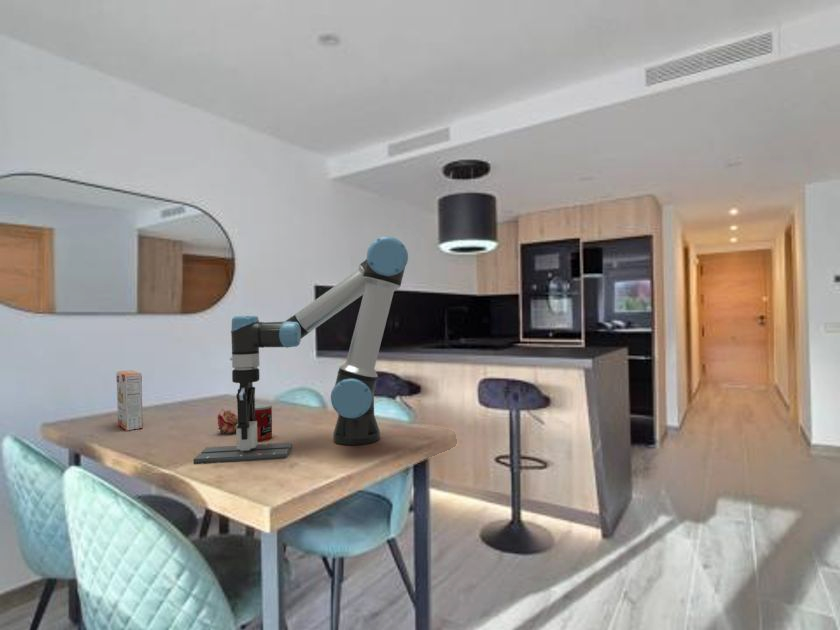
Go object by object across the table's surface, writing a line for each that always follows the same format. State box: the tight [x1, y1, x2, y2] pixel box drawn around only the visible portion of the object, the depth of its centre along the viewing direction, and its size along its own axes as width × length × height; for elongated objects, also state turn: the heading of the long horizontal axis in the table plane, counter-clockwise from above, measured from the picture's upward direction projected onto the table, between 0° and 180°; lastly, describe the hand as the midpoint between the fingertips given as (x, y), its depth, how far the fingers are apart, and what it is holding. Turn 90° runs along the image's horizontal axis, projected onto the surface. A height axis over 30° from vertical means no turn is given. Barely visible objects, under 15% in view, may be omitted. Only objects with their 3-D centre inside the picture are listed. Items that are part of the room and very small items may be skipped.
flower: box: [217, 409, 238, 435], centre depth 167 cm, size 10×9×8 cm
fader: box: [235, 421, 258, 451], centre depth 139 cm, size 5×4×8 cm
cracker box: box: [116, 370, 144, 432], centre depth 179 cm, size 14×6×21 cm, turn 43°
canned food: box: [254, 403, 273, 442], centre depth 158 cm, size 8×8×11 cm
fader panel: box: [193, 442, 293, 465], centre depth 139 cm, size 25×12×1 cm, turn 98°
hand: (247, 447), depth 139 cm, fingers closed on fader, 4 cm apart
